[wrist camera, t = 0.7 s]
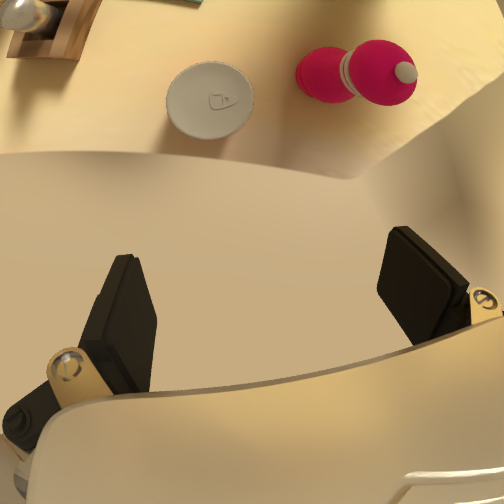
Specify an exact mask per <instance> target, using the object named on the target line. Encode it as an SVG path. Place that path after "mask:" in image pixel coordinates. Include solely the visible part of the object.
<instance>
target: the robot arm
mask: <svg viewBox="0 0 504 504" xmlns="http://www.w3.org/2000/svg"><path fill="white" fill-rule="evenodd" d="M469 284H470V283H469V282H468V281H467V280H466V279H465V278H464V277H463V276H462V275H461V274H460V273H459V272H458V271H457V270H456V269H455V268H454V267H453V266H451V264H450V263H448V262H447V261H446V260H445V259H444V258H443V257H442V256H441V255H440V254H439V253H438V252H436V250H434V249H433V248H432V247H431V246H430V245H429V244H428V243H427V242H425V241H424V240H423V239H422V238H421V237H420V236H419V235H417V234H416V233H415V232H414V231H413V230H412V229H410V228H409V227H408V226H398V227H394V228H393V229H392V231H390V232H389V235H388V239H387V244H386V249H385V254H384V258H383V263H382V267H381V271H380V276H379V279H378V283H377V292H378V295H379V296H380V298H381V299H382V300H383V302H384V303H385V305H386V306H387V307H388V309H389V310H390V312H391V313H392V315H393V316H394V317H395V319H396V320H397V322H398V323H399V325H400V326H401V328H402V329H403V331H404V332H405V334H406V335H407V337H408V338H409V340H410V341H411V343H412V345H413V346H412V347H408V348H405V349H402V350H399V351H396V352H392V353H389V354H385V355H382V356H378V357H375V358H372V359H368V360H364V361H360V362H356V363H352V364H348V365H344V366H340V367H336V368H331V369H327V370H322V371H317V372H313V373H308V374H302V375H297V376H292V377H286V378H280V379H274V380H268V381H262V382H255V383H248V384H240V385H231V386H222V387H213V388H203V389H192V390H178V391H163V392H162V391H161V392H149V388H150V378H151V368H152V360H153V351H154V343H155V336H156V328H157V316H156V313H155V310H154V307H153V304H152V300H151V298H150V294H149V291H148V288H147V284H146V281H145V278H144V274H143V271H142V267H141V264H140V261H139V258H138V257H137V258H134V256H133V254H127V255H118V256H116V258H115V260H114V262H113V264H112V266H111V269H110V271H109V274H108V276H107V278H106V281H105V283H104V285H103V287H102V290H101V292H100V294H99V295H98V296H97V297H96V300H95V302H94V305H93V307H92V310H91V312H90V315H89V317H88V320H87V323H86V325H85V328H84V331H83V333H82V336H81V339H80V342H79V345H78V347H69V348H65V349H62V350H60V351H59V352H57V353H56V354H55V355H54V356H53V357H52V358H51V359H50V361H49V363H48V365H47V371H46V373H47V377H48V380H47V381H46V382H44V383H43V384H42V385H40V386H39V387H38V388H36V389H35V390H33V391H32V392H31V393H29V394H28V395H26V396H25V397H24V398H22V399H21V400H20V401H18V402H17V403H15V404H14V405H13V406H11V407H10V408H9V409H8V410H7V412H6V414H5V416H4V419H3V424H2V427H3V432H4V433H3V434H2V435H1V434H0V504H504V311H502V308H501V303H500V301H499V299H498V298H497V296H496V295H495V294H494V293H492V292H491V291H489V290H487V289H485V288H481V287H475V288H473V289H472V290H471V291H470V293H469V294H468V293H467V292H466V291H467V288H468V286H469Z"/></svg>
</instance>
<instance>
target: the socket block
mask: <svg viewBox="0 0 504 504" xmlns="http://www.w3.org/2000/svg"><path fill="white" fill-rule="evenodd" d="M39 1H41V2H44V3H46V4H48V5H51V6H53V7H55V8H58V9H60V10H62V11H64V14H63V17H62V19H61V22H60V25H59V27H58V30H57V33H56V36H55V38H50V37H46V36H41V35H37V34H32V33H27V32H22V31H16V30H15V31H14V34H13V37H12V40H11V43H10V46H9V50H8V53H7V57H6V58H21V59H67V60H80V57H81V54H82V51H83V48H84V45H85V42H86V39H87V36H88V34H89V31H90V28H91V26H92V23H93V21H94V18H95V16H96V13H97V11H98V9H99V6H100V4H101V2H102V0H39Z"/></svg>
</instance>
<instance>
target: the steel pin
mask: <svg viewBox="0 0 504 504" xmlns="http://www.w3.org/2000/svg"><path fill="white" fill-rule="evenodd" d="M63 14H64V11H62V10H60V9H58V8H55V7H53V6H51V5H48V4H46V3H44V2H41V1H39V0H6V1H5V2H4V3H3V4H2V6H1V7H0V28H4V29H11V30H16V31H22V32H27V33H32V34H37V35H41V36H46V37H50V38H55V36H56V33H57V30H58V27H59V25H60V22H61V19H62V17H63Z"/></svg>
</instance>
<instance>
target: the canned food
mask: <svg viewBox="0 0 504 504" xmlns="http://www.w3.org/2000/svg"><path fill="white" fill-rule="evenodd" d="M253 105H254V94H253V89H252V87H251V84H250V82H249V80H248V79H247V78H246V76H245V75H244V74H243V73H242V72H241V71H240V70H238V69H237V68H235V67H233V66H231V65H229V64H226V63H222V62H216V61H207V62H202V63H197V64H195V65H192V66H190V67H188V68H187V69H185V70H183V71H182V72H181V73H180V74H179V75H178V76H177V77H176V78H175V79H174V80H173V82H172V83H171V85H170V87H169V89H168V92H167V97H166V109H167V113H168V116H169V118H170V120H171V122H172V123H173V124H174V126H175V127H176V128H177V129H178V130H180V131H181V132H182V133H184V134H186V135H187V136H189V137H192V138H195V139H200V140H216V139H221V138H224V137H226V136H229V135H231V134H232V133H234V132H236V131H237V130H238V129H240V128H241V127H242V126H243V125H244V124H245V122H246V121H247V120H248V118H249V116H250V114H251V112H252V109H253Z"/></svg>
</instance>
